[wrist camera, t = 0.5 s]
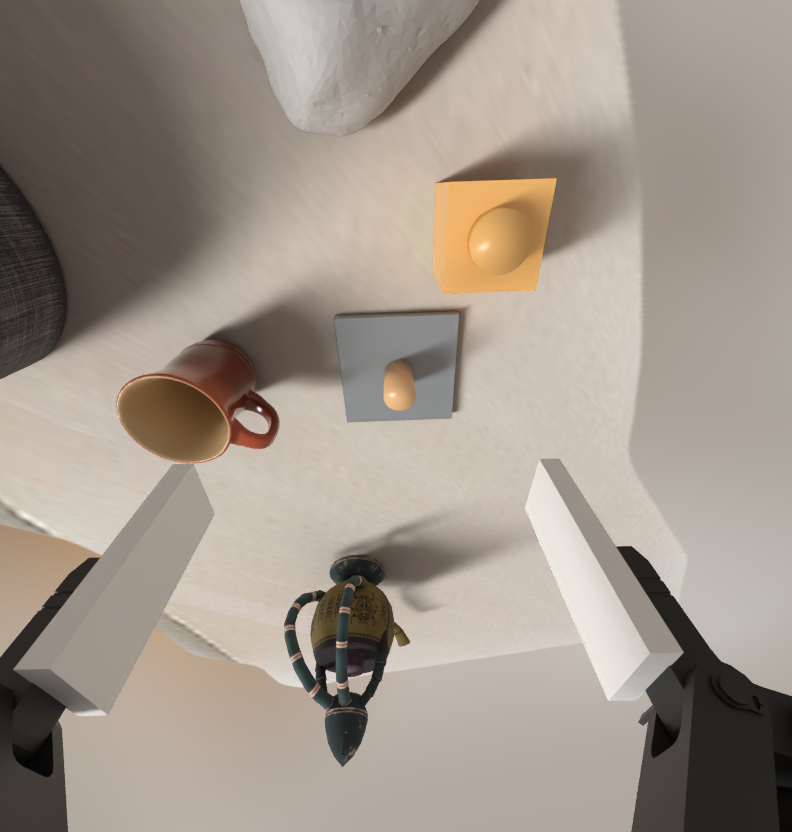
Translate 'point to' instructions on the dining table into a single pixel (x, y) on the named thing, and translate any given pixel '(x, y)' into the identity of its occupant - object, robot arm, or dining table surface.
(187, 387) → the mug
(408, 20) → the decorative stone
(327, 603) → the teapot
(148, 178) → the dining table surface
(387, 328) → the plate
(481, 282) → the orange cube with dome
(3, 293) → the planter
